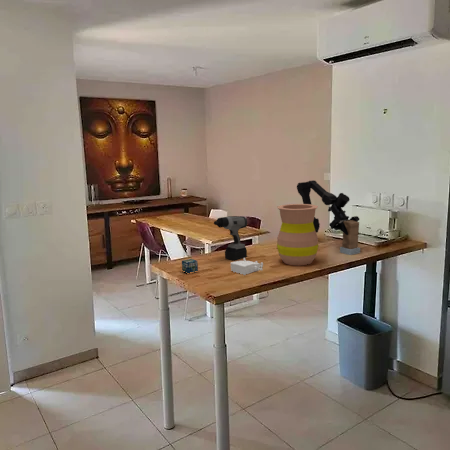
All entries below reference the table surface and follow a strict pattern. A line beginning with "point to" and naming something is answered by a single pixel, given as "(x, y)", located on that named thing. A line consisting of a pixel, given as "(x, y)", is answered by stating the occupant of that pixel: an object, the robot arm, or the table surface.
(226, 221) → the cordless drill
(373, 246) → the table surface
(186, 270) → the puzzle
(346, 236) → the post
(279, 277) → the table surface
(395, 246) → the table surface
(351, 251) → the plinth
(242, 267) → the white box with fittings
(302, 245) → the vase
